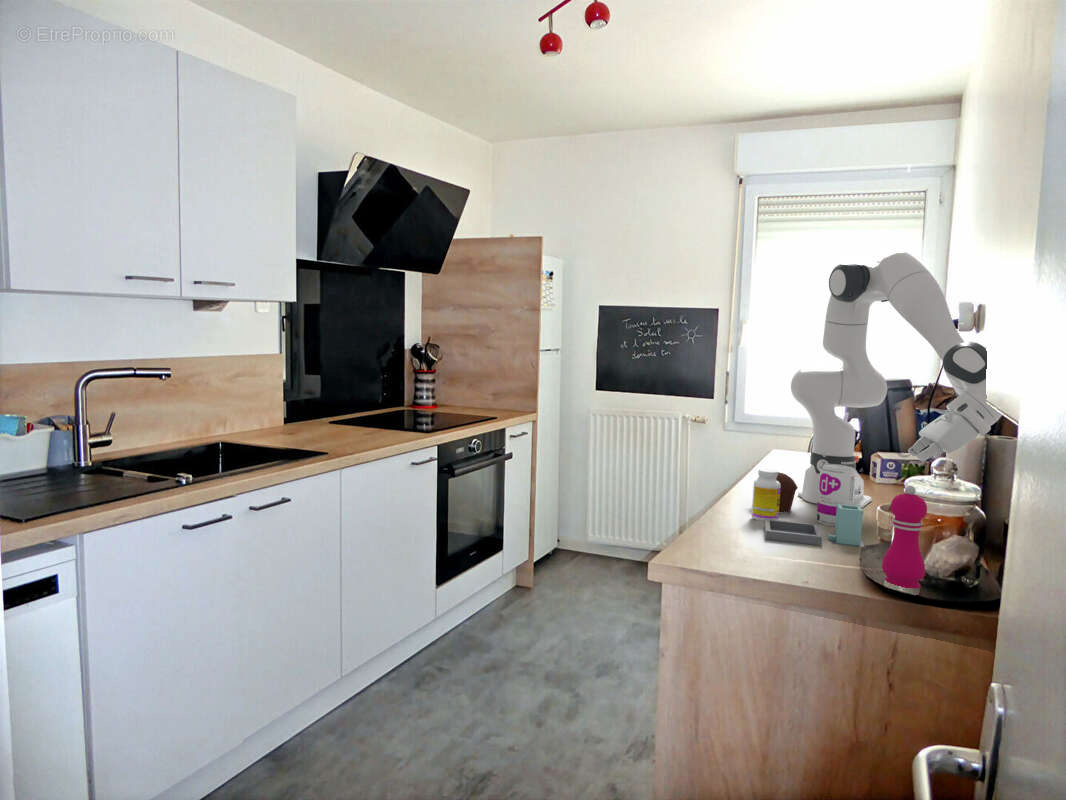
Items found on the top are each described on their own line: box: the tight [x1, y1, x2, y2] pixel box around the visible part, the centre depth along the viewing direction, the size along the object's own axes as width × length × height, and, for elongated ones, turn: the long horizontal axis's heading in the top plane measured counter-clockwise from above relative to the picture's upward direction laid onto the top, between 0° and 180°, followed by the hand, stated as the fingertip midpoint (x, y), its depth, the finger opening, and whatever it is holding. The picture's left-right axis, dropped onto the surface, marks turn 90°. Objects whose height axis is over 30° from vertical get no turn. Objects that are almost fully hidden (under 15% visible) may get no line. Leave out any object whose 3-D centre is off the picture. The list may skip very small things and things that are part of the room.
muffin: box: [757, 471, 799, 513], centre depth 201 cm, size 12×11×10 cm
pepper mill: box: [881, 485, 928, 589], centre depth 136 cm, size 7×7×20 cm
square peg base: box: [830, 539, 865, 548], centre depth 169 cm, size 7×7×4 cm
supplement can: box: [815, 464, 855, 527], centre depth 186 cm, size 8×8×15 cm
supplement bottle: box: [751, 468, 781, 522], centre depth 188 cm, size 7×7×13 cm
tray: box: [764, 519, 823, 547], centre depth 171 cm, size 12×12×2 cm
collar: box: [827, 504, 864, 545], centre depth 169 cm, size 5×6×8 cm
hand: (914, 456), depth 163 cm, fingers open, 8 cm apart
